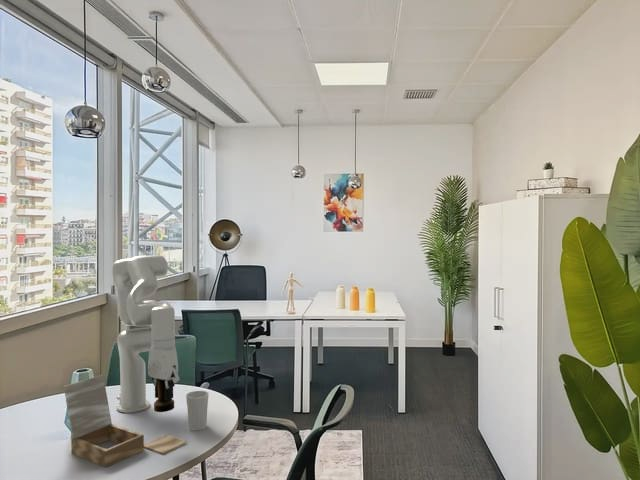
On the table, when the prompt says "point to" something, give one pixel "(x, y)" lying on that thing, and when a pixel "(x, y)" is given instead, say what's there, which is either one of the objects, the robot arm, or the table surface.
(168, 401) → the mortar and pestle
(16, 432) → the table surface
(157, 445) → the cork mat
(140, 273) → the robot arm
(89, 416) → the cold frame
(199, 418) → the cup
